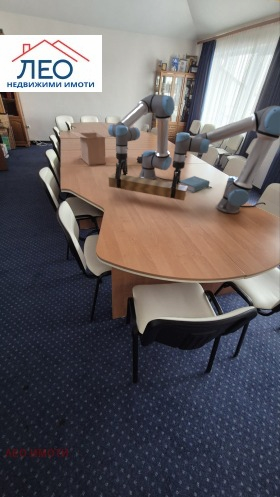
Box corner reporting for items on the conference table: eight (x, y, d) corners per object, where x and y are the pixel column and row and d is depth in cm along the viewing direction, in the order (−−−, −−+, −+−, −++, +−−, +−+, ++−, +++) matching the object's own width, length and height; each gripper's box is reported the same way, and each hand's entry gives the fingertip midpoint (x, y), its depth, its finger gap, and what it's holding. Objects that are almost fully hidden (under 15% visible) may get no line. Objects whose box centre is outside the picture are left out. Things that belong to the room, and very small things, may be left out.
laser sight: (156, 165, 237) (157, 156, 231) (135, 163, 240) (136, 153, 234) (157, 163, 245) (158, 153, 239) (137, 161, 248) (138, 151, 242)
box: (116, 165, 229) (116, 136, 213) (83, 168, 214) (80, 137, 198) (102, 154, 259) (101, 128, 243) (71, 156, 244) (68, 129, 228)
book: (193, 181, 204) (194, 176, 201) (208, 186, 195) (209, 181, 192) (178, 186, 191) (179, 181, 188) (193, 192, 182) (195, 186, 179)
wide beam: (108, 186, 156) (108, 177, 152) (114, 182, 164) (114, 173, 160) (183, 200, 145) (185, 191, 141) (186, 195, 152) (187, 185, 148)
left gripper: (120, 157, 135) (120, 191, 149) (132, 149, 153) (131, 181, 166) (109, 155, 137) (110, 189, 150) (122, 148, 154) (122, 179, 168)
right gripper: (182, 166, 127) (176, 202, 140) (187, 157, 144) (182, 190, 157) (169, 164, 129) (164, 200, 142) (176, 155, 146) (171, 188, 159)
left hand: (121, 185), depth 158 cm, fingers closed on wide beam, 10 cm apart
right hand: (174, 194), depth 150 cm, fingers closed on wide beam, 10 cm apart
